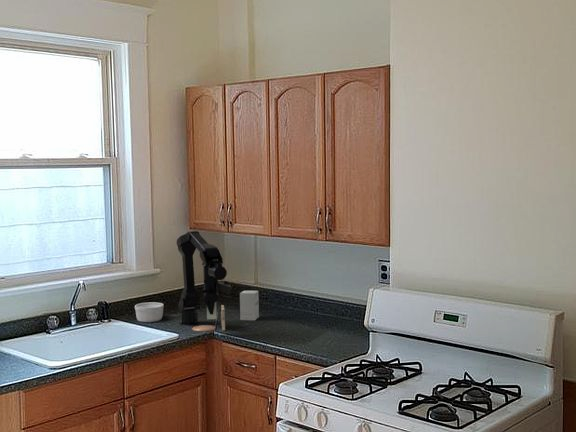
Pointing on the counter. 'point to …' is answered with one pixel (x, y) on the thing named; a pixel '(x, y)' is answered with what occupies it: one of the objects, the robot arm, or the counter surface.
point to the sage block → (213, 313)
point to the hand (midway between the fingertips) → (211, 313)
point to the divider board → (223, 317)
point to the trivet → (203, 328)
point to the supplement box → (249, 305)
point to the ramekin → (149, 311)
